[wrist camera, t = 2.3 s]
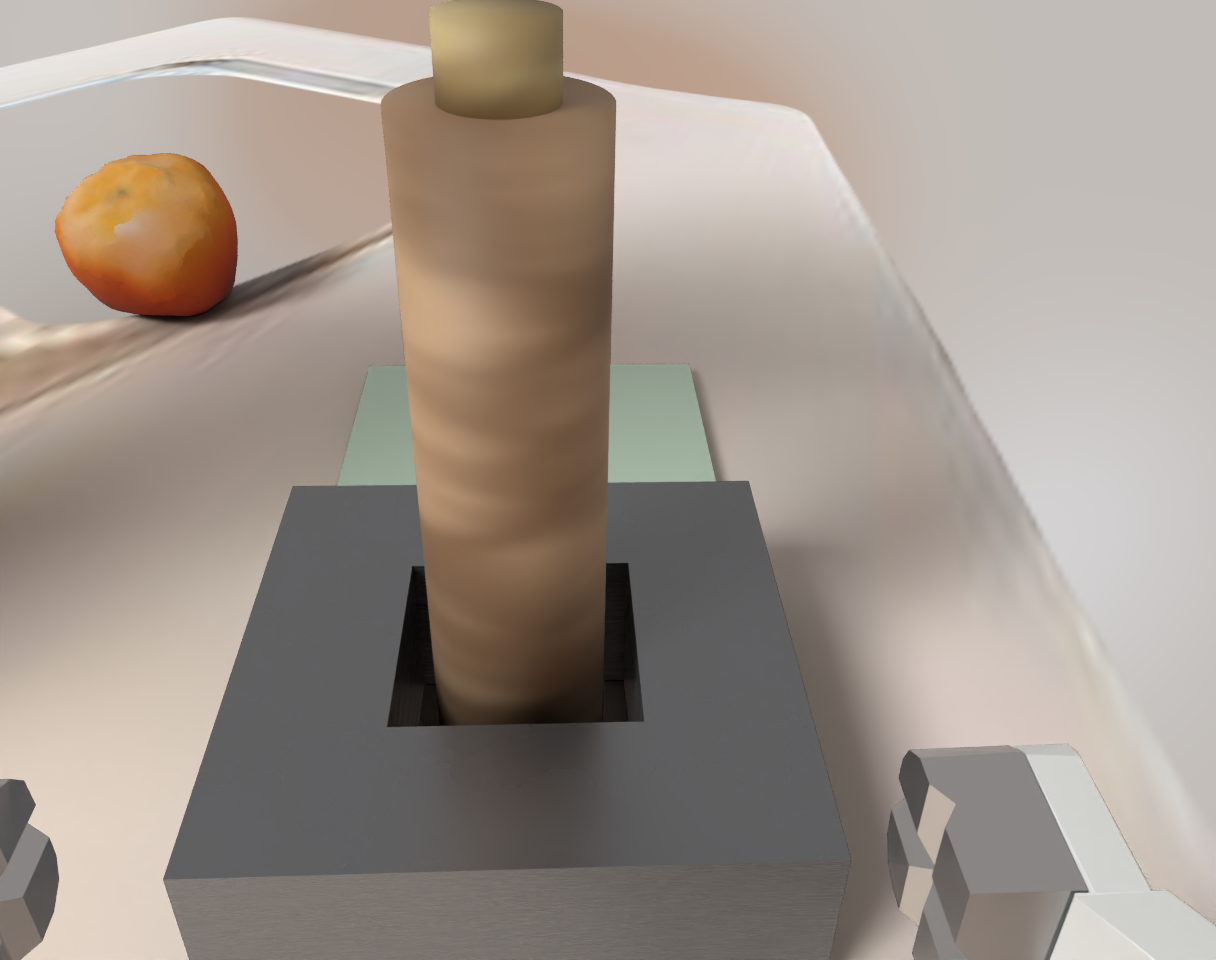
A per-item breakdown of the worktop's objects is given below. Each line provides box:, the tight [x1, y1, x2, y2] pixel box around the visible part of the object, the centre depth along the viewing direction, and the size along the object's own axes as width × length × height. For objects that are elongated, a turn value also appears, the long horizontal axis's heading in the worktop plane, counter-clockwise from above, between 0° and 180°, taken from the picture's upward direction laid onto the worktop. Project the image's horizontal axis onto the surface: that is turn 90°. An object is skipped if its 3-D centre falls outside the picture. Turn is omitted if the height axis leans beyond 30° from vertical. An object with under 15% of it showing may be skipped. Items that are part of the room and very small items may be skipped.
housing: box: [163, 481, 851, 960], centre depth 30 cm, size 14×14×4 cm
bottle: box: [381, 0, 616, 726], centre depth 26 cm, size 4×4×20 cm
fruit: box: [55, 153, 238, 316], centre depth 54 cm, size 8×8×8 cm
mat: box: [337, 364, 716, 486], centre depth 44 cm, size 14×12×1 cm
